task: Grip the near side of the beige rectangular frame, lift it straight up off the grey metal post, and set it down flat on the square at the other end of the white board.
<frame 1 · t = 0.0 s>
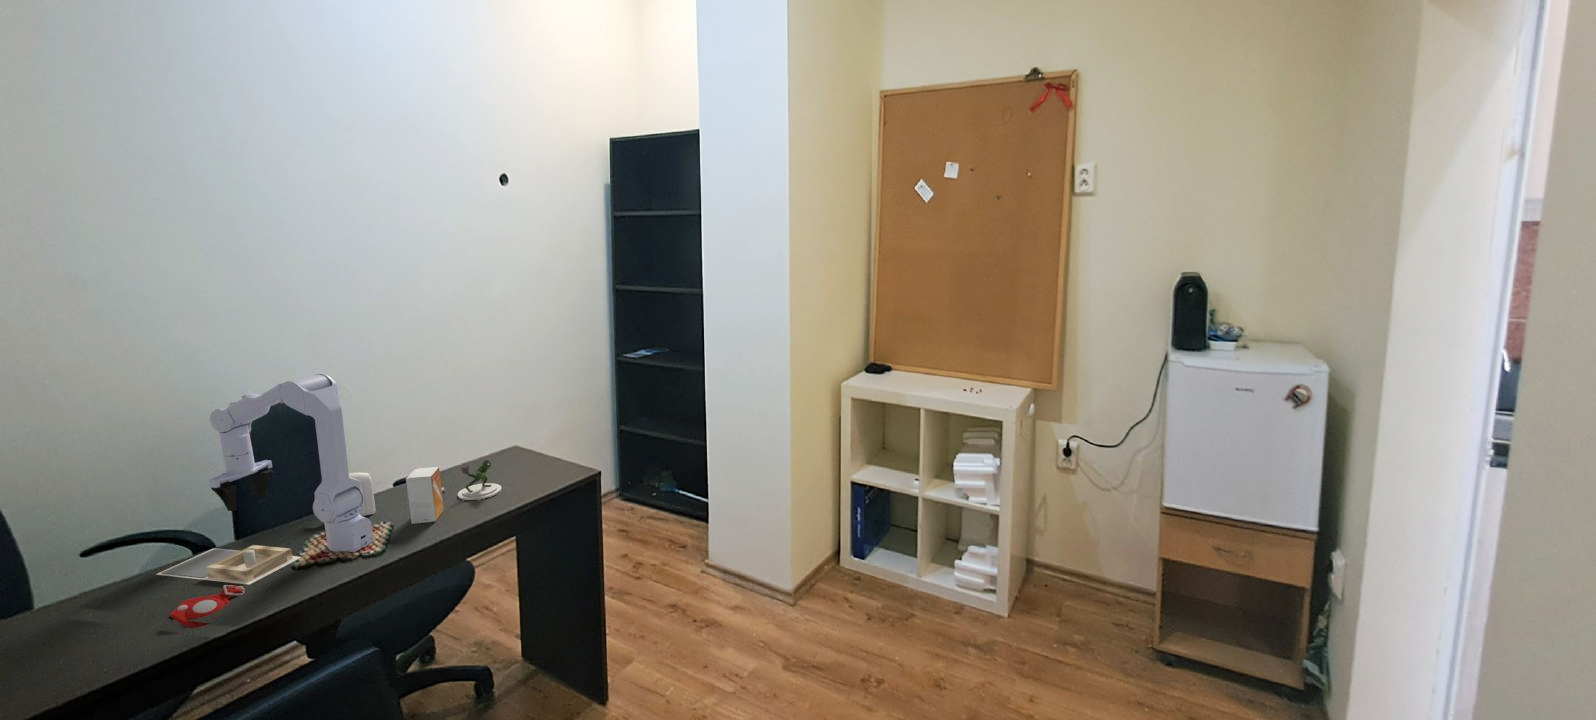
hand: (247, 504, 174), 10 cm above the table, tool pointing down, fingers open, 7 cm apart
monster figurine: (480, 493, 206), on the table
board: (231, 571, 161), on the table
beige rectangular frame: (251, 567, 159), point 1 cm above the table, touching board
small box: (428, 517, 190), on the table
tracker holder: (214, 614, 144), on the table
photo printer: (354, 516, 191), on the table
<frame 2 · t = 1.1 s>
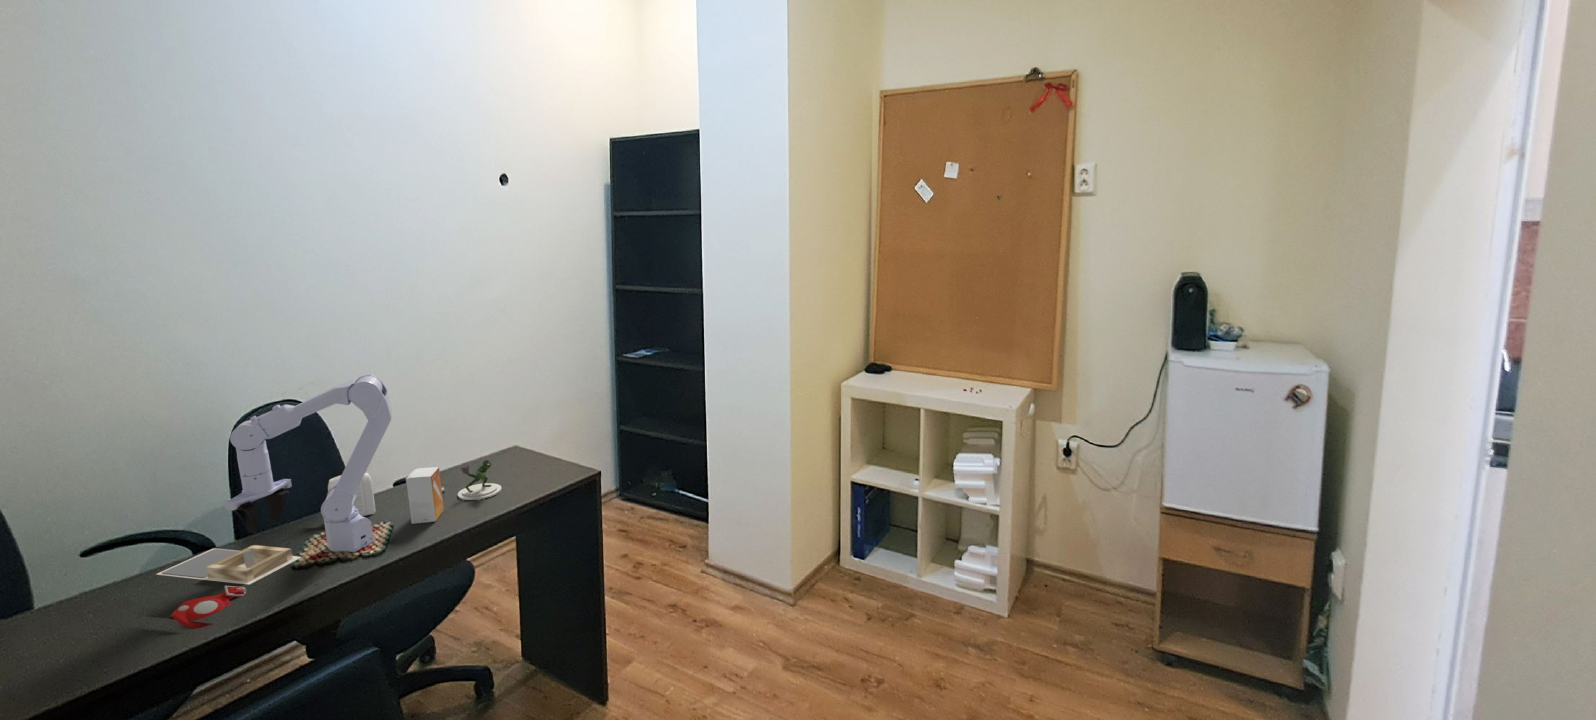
hand: (265, 526, 162), 9 cm above the table, tool pointing down, fingers open, 5 cm apart
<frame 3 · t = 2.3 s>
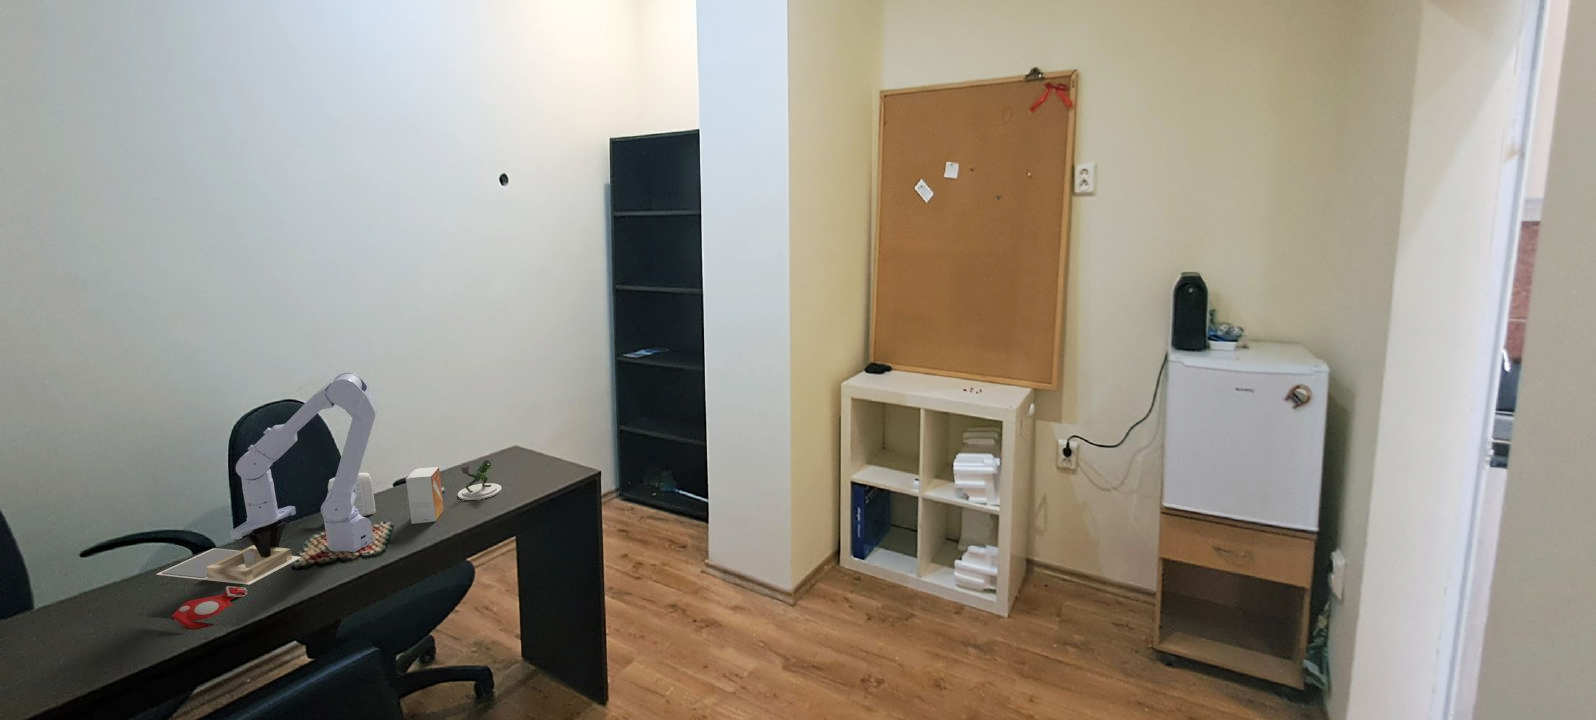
hand: (269, 554, 164), 2 cm above the table, tool pointing down, fingers closed on beige rectangular frame, 1 cm apart
beige rectangular frame: (251, 567, 159), point 2 cm above the table, touching board, gripper
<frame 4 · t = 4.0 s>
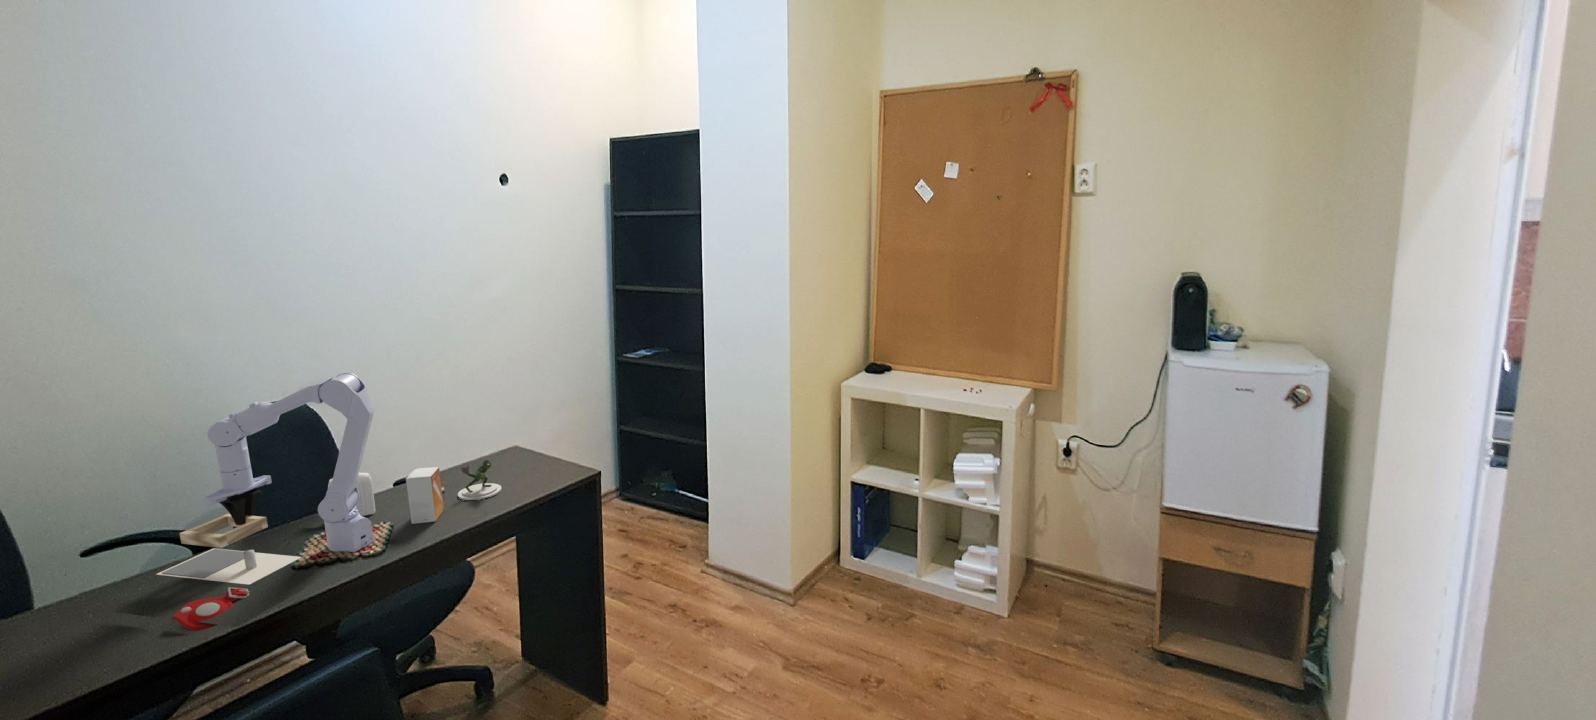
hand: (244, 522, 163), 10 cm above the table, tool pointing down, fingers closed on beige rectangular frame
beige rectangular frame: (225, 535, 159), point 9 cm above the table, touching gripper
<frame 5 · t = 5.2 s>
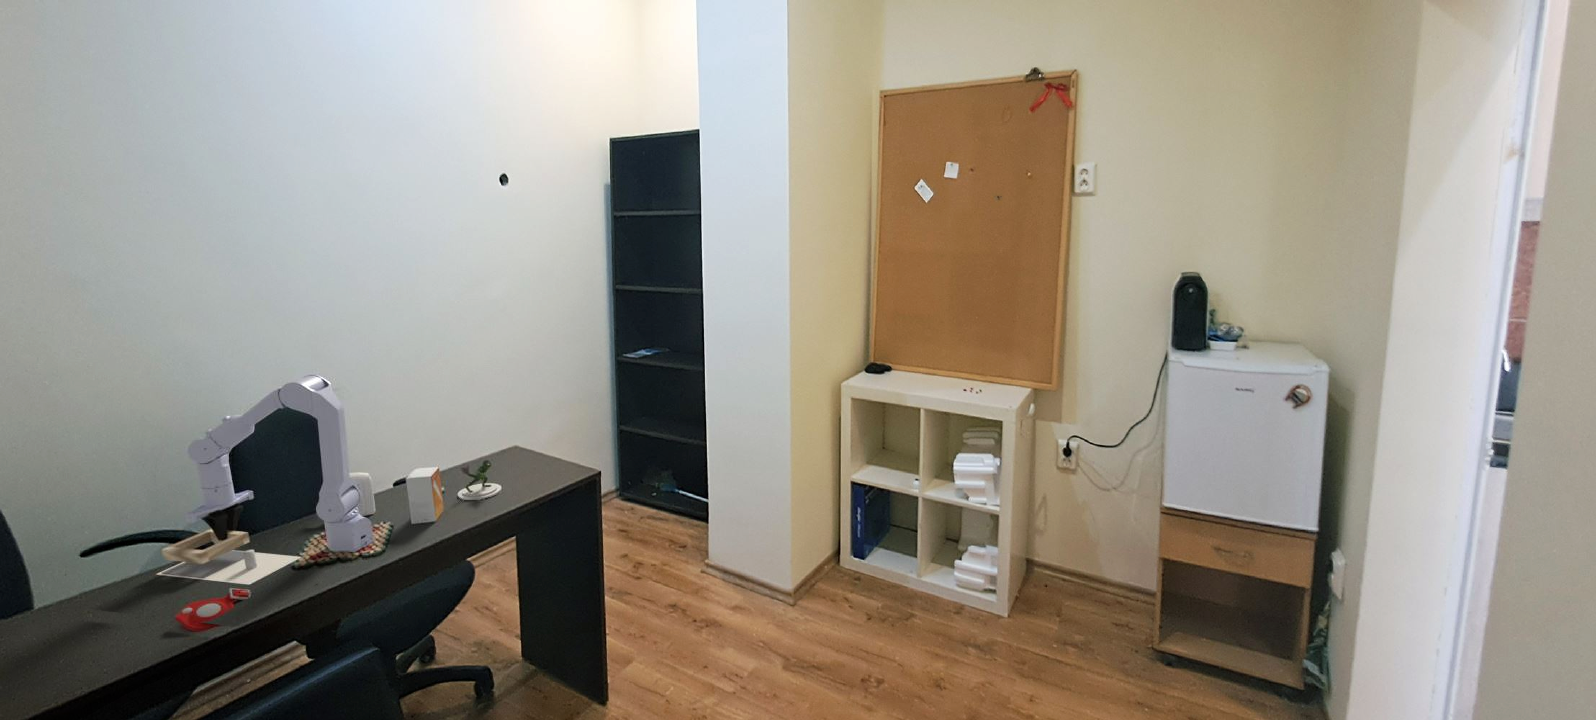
hand: (226, 538, 166), 6 cm above the table, tool pointing down, fingers closed on beige rectangular frame
beige rectangular frame: (207, 550, 161), point 5 cm above the table, touching gripper
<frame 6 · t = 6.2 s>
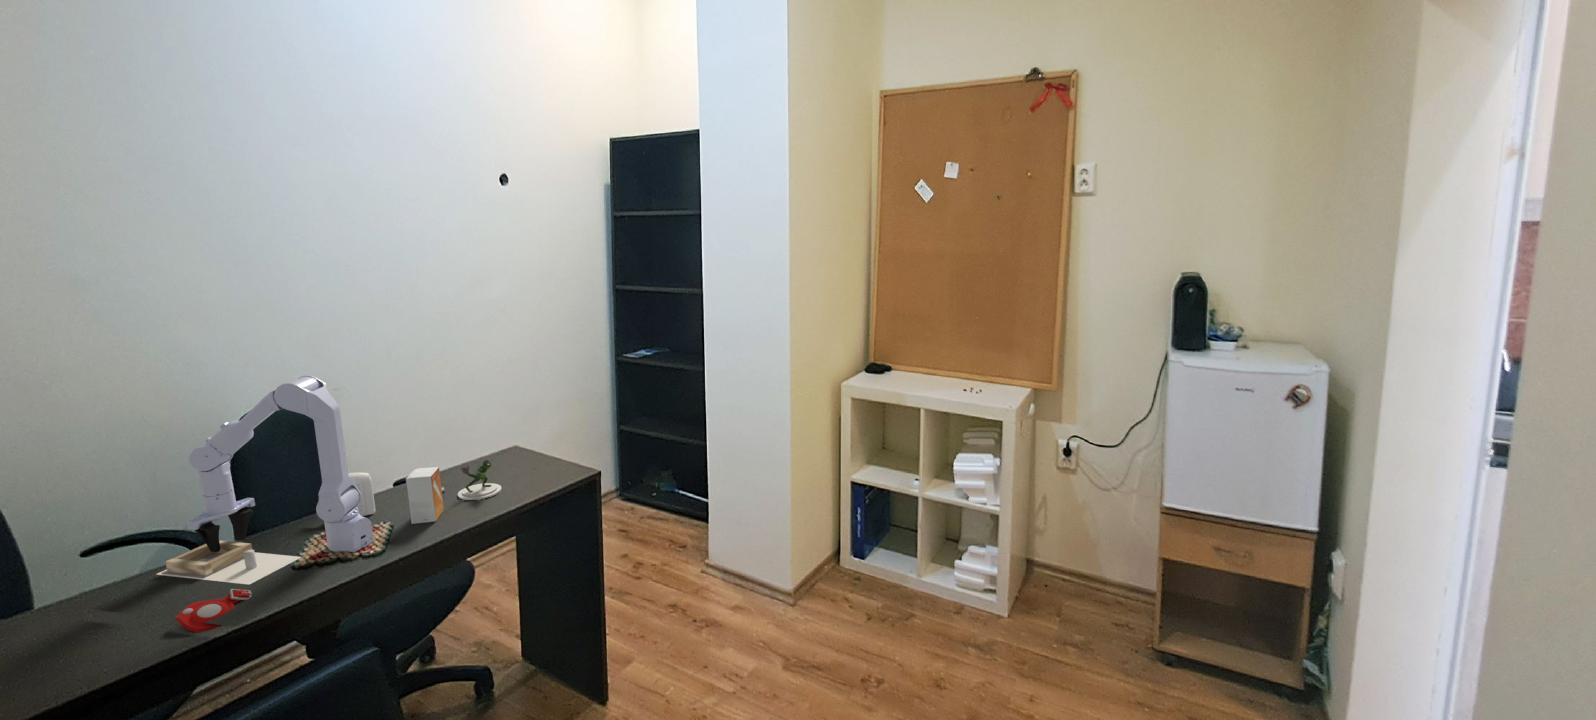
hand: (228, 545, 166), 4 cm above the table, tool pointing down, fingers open, 6 cm apart
beige rectangular frame: (211, 562, 162), point 2 cm above the table, touching board
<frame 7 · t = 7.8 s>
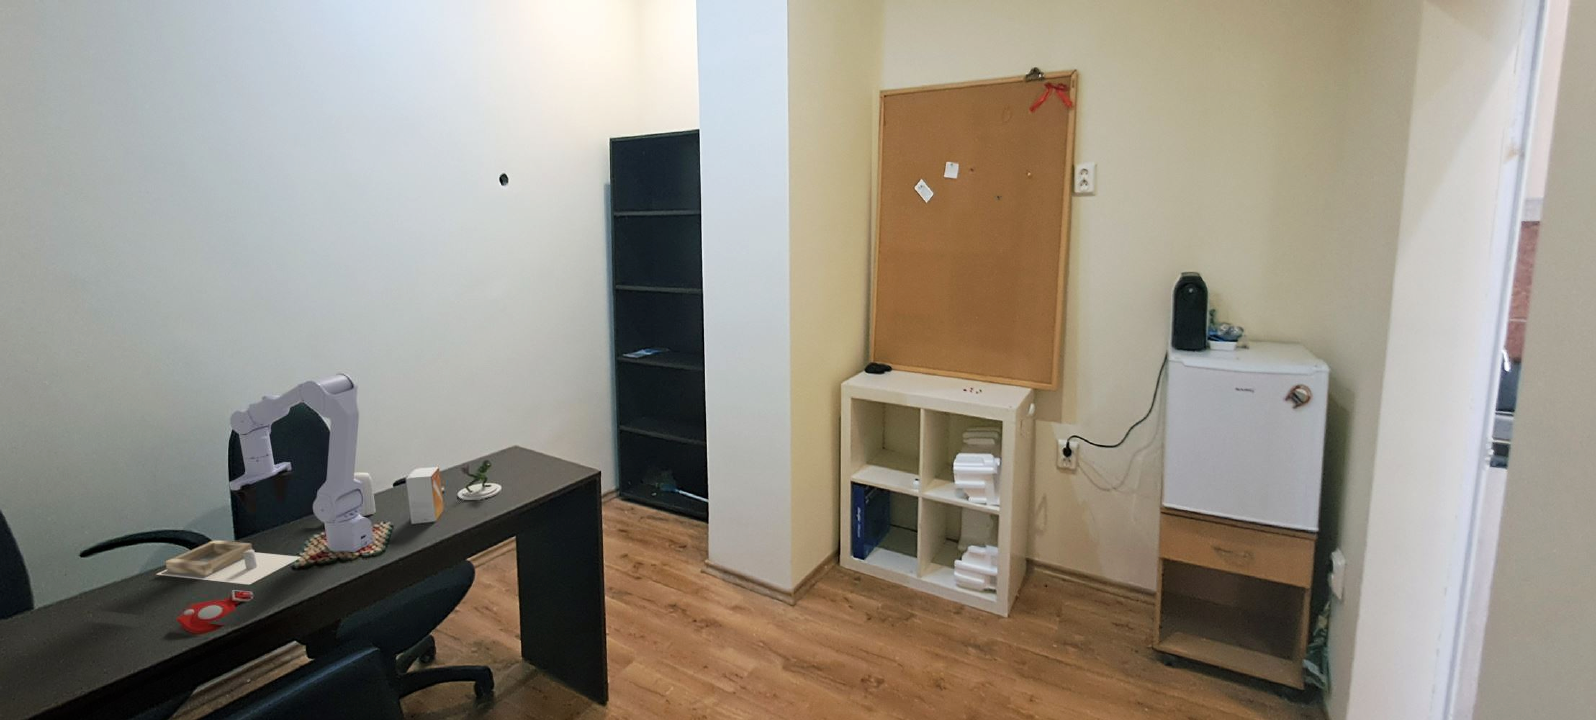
hand: (266, 506, 173), 10 cm above the table, tool pointing down, fingers open, 7 cm apart
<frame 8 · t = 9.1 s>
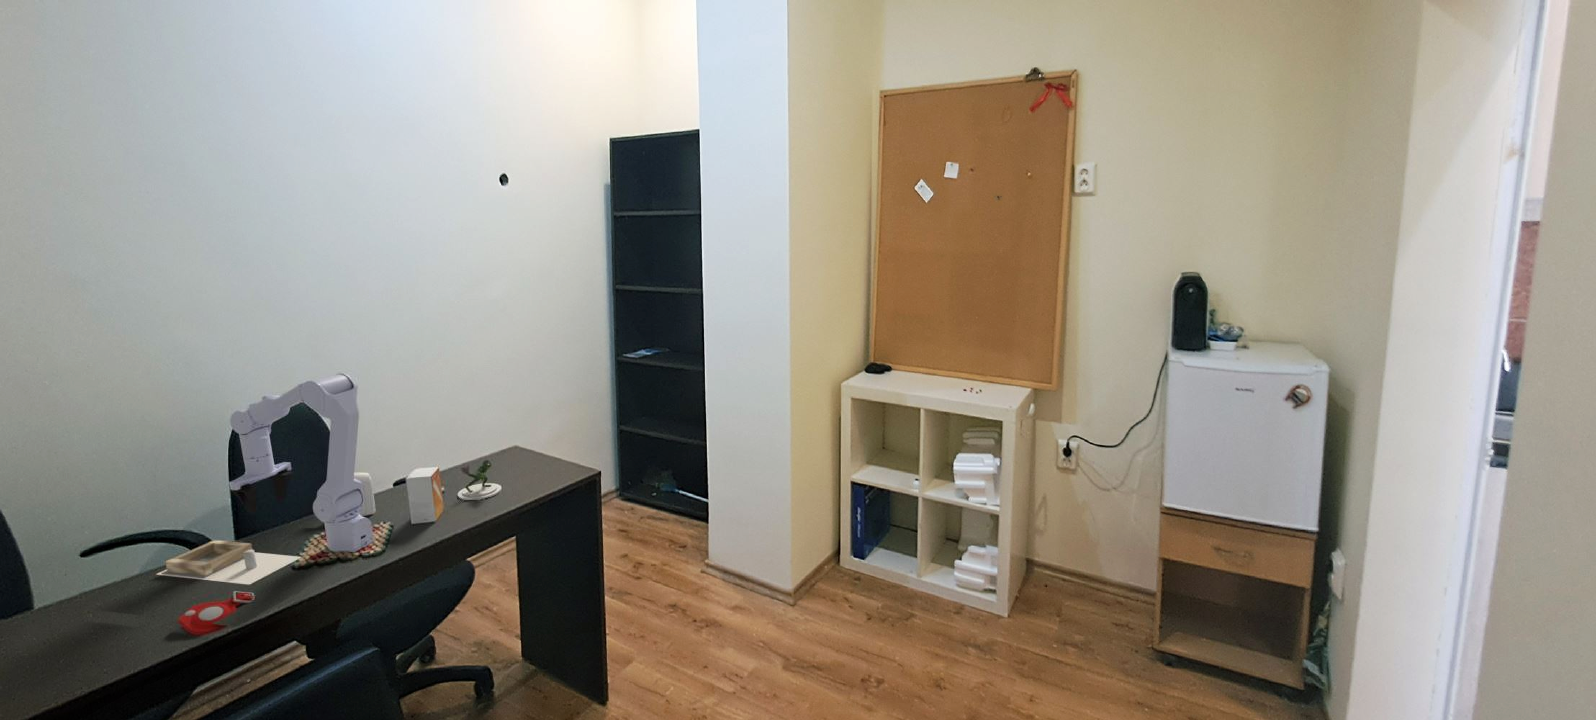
hand: (266, 506, 173), 10 cm above the table, tool pointing down, fingers open, 7 cm apart
at the end: beige rectangular frame 0.3 cm from the target spot on the board, point 1.7 cm above the board's base; beige rectangular frame tilted 0°; the gripper is holding nothing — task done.
